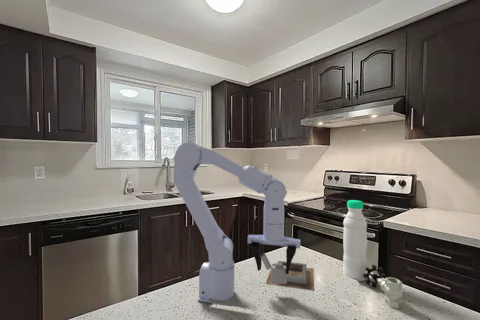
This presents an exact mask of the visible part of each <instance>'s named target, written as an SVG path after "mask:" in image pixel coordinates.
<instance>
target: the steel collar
mask: <svg viewBox="0 0 480 320" xmlns="http://www.w3.org/2000/svg"><path fill="white" fill-rule="evenodd" d="M277 263H282V264H283V265H284V266H286V263H287V261H285V260H284V261H282V260H278V262H277ZM306 268H307V263H303V262H302V263H300V262H292V261H291V264H290V267H289V269H290V270H299V271H302V277H296V276H288V275H287V284H292V285H299V286H306Z"/></svg>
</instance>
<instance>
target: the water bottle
mask: <svg viewBox="0 0 480 320" xmlns="http://www.w3.org/2000/svg"><path fill="white" fill-rule="evenodd" d="M346 207H347V209H348V212H347V213H346V215H345V217H344V219H343V222H342V224H343V236H342V237H343V239H342V240H343V241H342V242H343V243H342V245H343V247H342V248H343V257H342V259H343V260H342V263H343V266H342V267H343V269H342V272H343V275H344V276H345V277H347V278H350V279H355V280H356V281H357V282H365V281H366V280H367V278H366V279H365V278H364V277H363V274H367V271H366V270H365V269H366V267H367V264H368V259H367V253H368V234H367V232H368V231H367V227H368V223H367V220H366V219H365V216H364V214H363V212H362V211H363V209H364V202H363V201H362V200H357V199H349V200H348V201H347V202H346Z"/></svg>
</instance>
